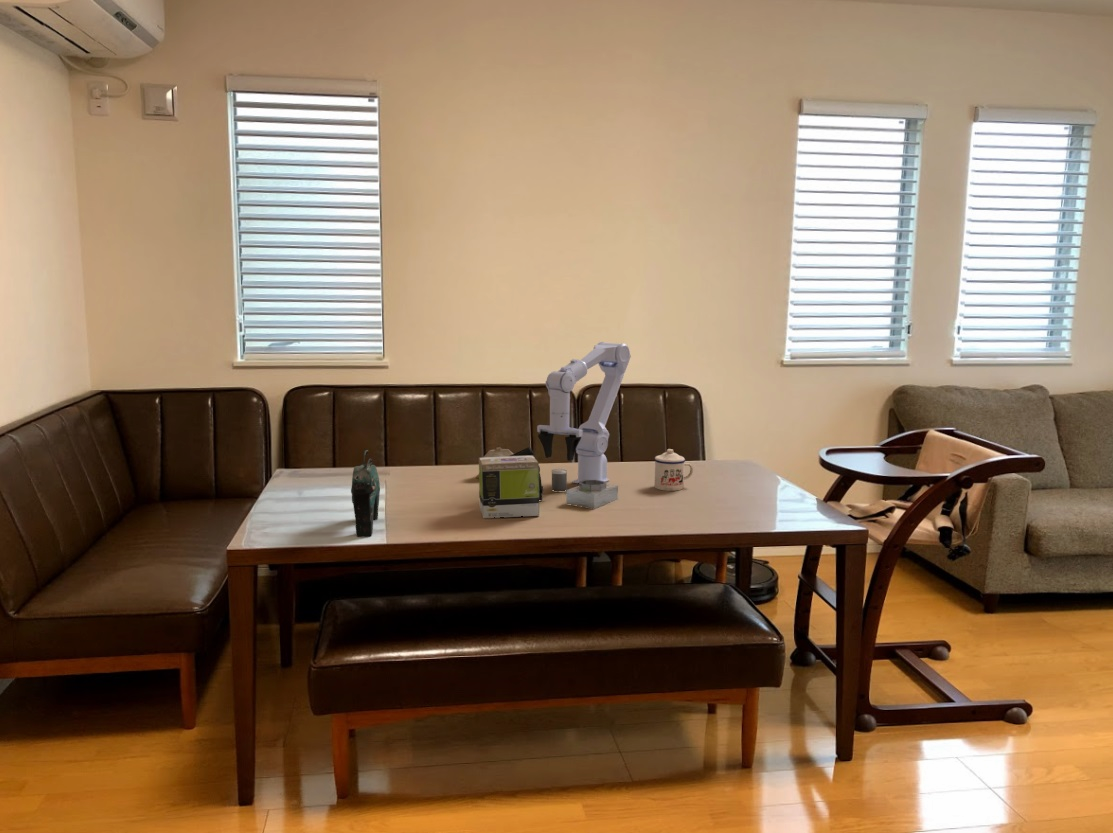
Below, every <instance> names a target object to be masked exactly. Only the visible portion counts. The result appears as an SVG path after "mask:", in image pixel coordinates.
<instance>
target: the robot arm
mask: <svg viewBox="0 0 1113 833" xmlns="http://www.w3.org/2000/svg"><path fill="white" fill-rule="evenodd" d="M630 352H631V351H630V348H629V346H628V344H626V343H624V342H623V343H617V342H603V341H599V342H598V343H597V344H595V345H593V349H592V350H590V352H589V353H587V354H586V355H584V357H582V358H581V359H577V358H576V359H575V358H573V359H571V360H570V362H569V363H567V364H566V365H565V366H561V367H560V369H559V370H558V371H556V370H554V371H551V372H550V373H549V374H548V375H547V377H546V380H545V387H546V388H547V390H548V392H547V394H548V396H549V424H548V425H546V424H545V425H543V424H539V425H537V426H536V430H537V431H536V432H537V433H539V434H537V437H538V439H539V441H540V443H541V445H542V448H543V452H544V455H545V458H546V459H548V458H549V459H550V458H552V453H553V442H554V441H553V440H554V436H555V434H556V435H561V436H562V435H564V436H565V437H564V440H565V443H566V459H567V462H571V461H573V460H574V457H575V453H576V454H577V479H574V480H572V482H573V483H572V482H571V483H572V484H578V483H579V482H580V481H583V480H600V481H604V482H605V483H607V482H608V481H610V478H608V477H607V476H608V459H607V457H606V455H605V454H604V453H605V452H606V451H607V448H608V446H609V438H610V435H611V434H610V433H609V430H607V427H606V425H607V422H608V419H609V416H610V413H611V411H612V408H613V405H614V403H615V400H616V397H617V395H618V392H619V391H620V386H621V384H622V382H623V380H624V375H625V373H626V370H627V367H628V365H629V362H630V359H631V358H632V356H631V353H630ZM596 365H598V366H599V368H600V370H601V371H602V372H603V373H604V377H603V380H602V383H601V386H600V388H599V392H598V394H597V395H596V399H595V401H594V404H593V406H592V410H591V412H590V415H589V417H588V420H586V421H585V422H584V423H581V424H580V425H579V427H578V428H574V427H570V421H571V420H570V411H571V409H570V408H571V405H570V404H571V403H570V401H571V399H570V398H571V395H570V394H571V392H572V391H573V389H574V387H575V385H576V383H577V382H578V381H580V380H581V379H583V378H584V377H585V376H587V374H588V370H589V369H591V368H592V367H594V366H596Z"/></svg>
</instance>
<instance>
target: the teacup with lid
mask: <svg viewBox="0 0 1113 833" xmlns="http://www.w3.org/2000/svg"><path fill="white" fill-rule="evenodd" d="M653 460H654V488H655V489H657V490H660V491H664V492H665V491H667V492H673V491H674V492H675V491H681V490H682V489H684V487H685V486H684V482H685V480H686V481H687V480H689V479H690V478H691V477H692V476H693V473H694V467H693V465H692V464H691V463H689V462H686V459H685V457H684V456H682V455H679V454H678V453H676V452H674V449H671V448H668V449H667V450H666V451H665V452H663V453H661V454H659V455H655V457H654V459H653ZM686 466H687V467H689V469H690V470H689V473H688V475H686V476H685V467H686Z"/></svg>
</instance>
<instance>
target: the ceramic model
mask: <svg viewBox="0 0 1113 833" xmlns="http://www.w3.org/2000/svg"><path fill="white" fill-rule="evenodd" d="M513 454H515V452H514V453H513V452H512V451H511V450H510V449H508V448H501V446H498V447H496V449H489V450H488V451H487V453H486V454H485V455H484V456H483V457H503V456H510V455H513ZM475 477H476V479H479V473H478V474H477V475H476V476H475Z"/></svg>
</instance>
